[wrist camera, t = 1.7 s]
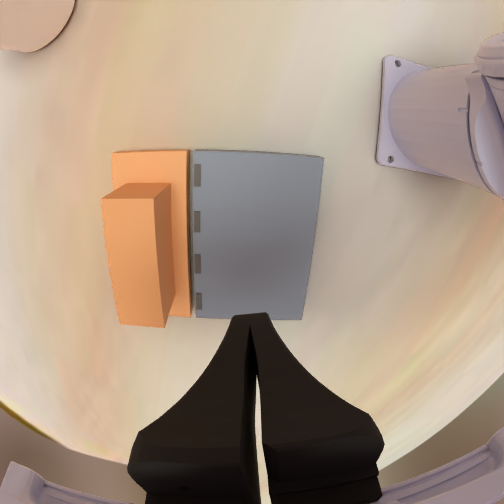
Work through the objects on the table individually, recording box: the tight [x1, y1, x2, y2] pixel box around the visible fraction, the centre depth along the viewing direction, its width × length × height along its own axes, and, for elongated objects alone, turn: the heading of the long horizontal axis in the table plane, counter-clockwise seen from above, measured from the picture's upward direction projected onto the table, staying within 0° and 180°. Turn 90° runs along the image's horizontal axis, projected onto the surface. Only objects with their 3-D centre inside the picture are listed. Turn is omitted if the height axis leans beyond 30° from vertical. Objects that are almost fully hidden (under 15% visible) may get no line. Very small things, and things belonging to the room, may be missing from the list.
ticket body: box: [193, 150, 324, 320], centre depth 21 cm, size 8×12×1 cm, turn 177°
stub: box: [101, 150, 192, 328], centre depth 18 cm, size 5×12×5 cm, turn 177°
